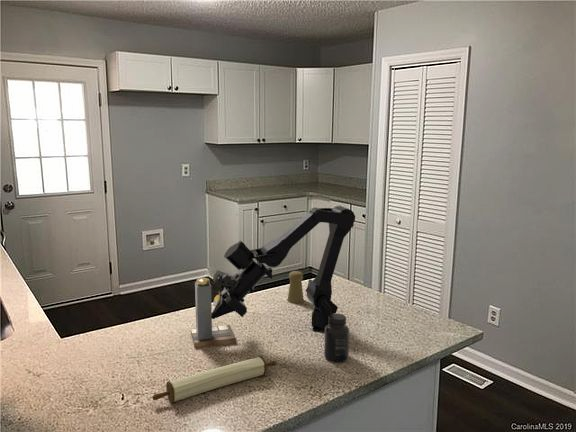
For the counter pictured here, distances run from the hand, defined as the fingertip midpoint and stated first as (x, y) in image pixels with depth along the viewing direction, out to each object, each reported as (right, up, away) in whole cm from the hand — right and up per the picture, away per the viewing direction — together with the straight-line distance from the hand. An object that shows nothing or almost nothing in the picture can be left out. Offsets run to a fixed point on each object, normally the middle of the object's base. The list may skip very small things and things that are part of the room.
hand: (211, 317), depth 138 cm
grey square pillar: (-3, -5, +2) cm, 6 cm away
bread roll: (0, -2, +31) cm, 31 cm away
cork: (+25, -1, +35) cm, 43 cm away
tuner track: (0, -7, +3) cm, 8 cm away
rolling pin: (+6, -12, -23) cm, 27 cm away
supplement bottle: (+36, -10, -7) cm, 38 cm away
